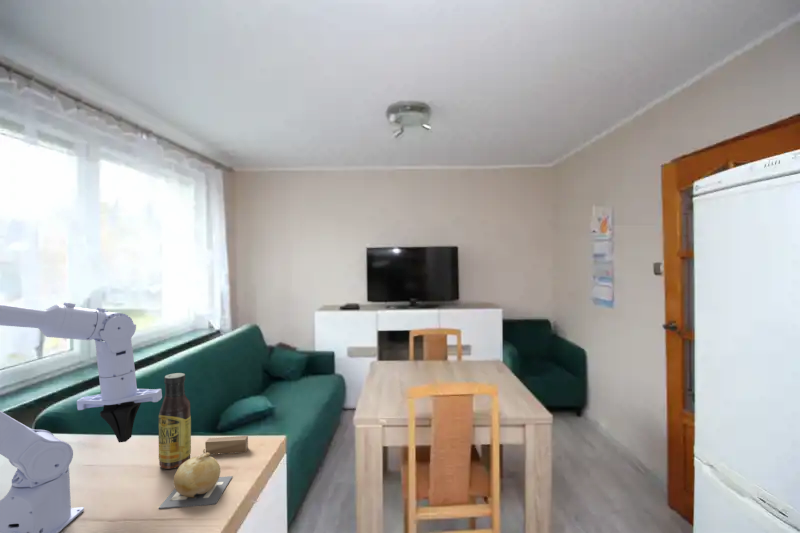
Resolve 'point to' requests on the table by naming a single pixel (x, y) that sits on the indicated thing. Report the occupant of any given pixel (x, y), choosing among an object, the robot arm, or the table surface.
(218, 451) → the rail
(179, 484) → the onion
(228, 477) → the card
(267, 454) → the table surface
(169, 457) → the sauce bottle
